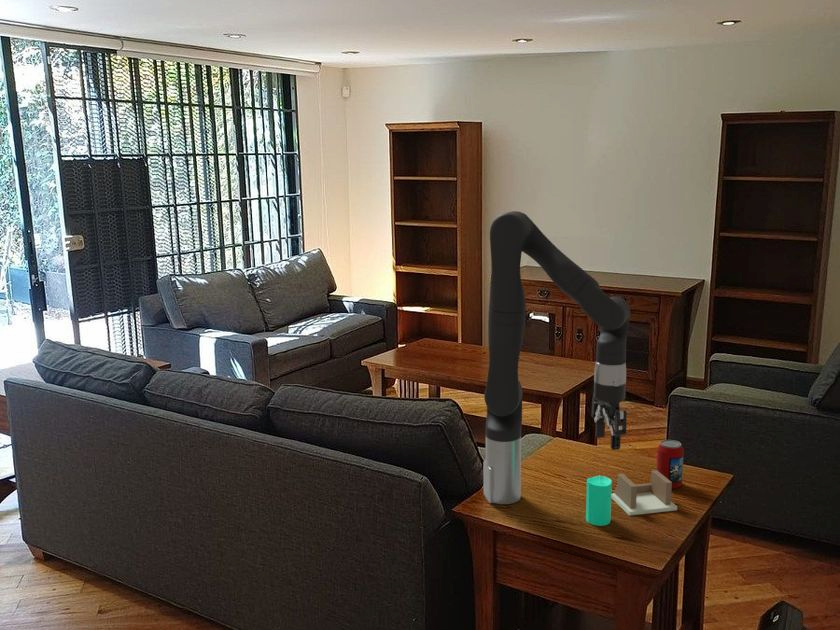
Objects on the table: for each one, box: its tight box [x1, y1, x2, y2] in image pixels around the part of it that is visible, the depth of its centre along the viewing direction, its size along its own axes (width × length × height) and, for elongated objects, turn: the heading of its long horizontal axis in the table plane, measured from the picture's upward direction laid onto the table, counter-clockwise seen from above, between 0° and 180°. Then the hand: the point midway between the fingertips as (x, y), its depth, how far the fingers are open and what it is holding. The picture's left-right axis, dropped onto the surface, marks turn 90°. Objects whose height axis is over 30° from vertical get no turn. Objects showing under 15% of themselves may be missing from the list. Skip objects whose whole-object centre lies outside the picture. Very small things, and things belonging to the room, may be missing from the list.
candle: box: [585, 474, 613, 527], centre depth 196 cm, size 6×6×12 cm
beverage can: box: [656, 439, 685, 490], centre depth 216 cm, size 7×7×12 cm
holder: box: [611, 469, 678, 516], centre depth 205 cm, size 13×11×7 cm
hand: (607, 442), depth 196 cm, fingers open, 8 cm apart
